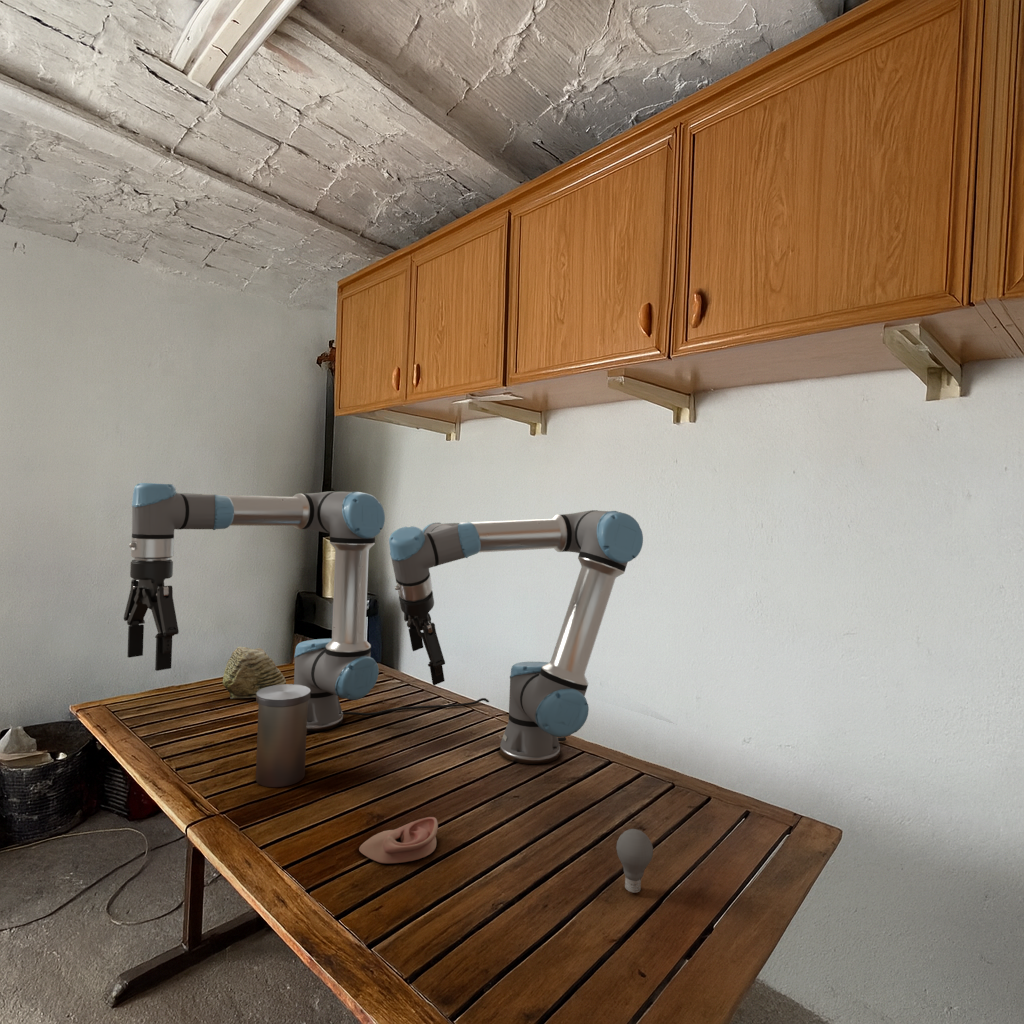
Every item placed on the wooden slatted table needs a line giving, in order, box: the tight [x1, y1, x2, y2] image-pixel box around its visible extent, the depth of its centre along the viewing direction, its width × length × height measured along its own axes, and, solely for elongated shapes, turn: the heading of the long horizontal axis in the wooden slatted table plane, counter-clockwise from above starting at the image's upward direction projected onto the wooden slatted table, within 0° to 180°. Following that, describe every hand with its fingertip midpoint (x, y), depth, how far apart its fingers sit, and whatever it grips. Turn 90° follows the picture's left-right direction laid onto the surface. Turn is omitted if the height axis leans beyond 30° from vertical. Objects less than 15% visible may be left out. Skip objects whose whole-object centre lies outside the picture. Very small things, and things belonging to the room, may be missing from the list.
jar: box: [255, 701, 308, 788], centre depth 142 cm, size 10×10×19 cm
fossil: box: [222, 646, 287, 699], centre depth 198 cm, size 9×18×15 cm, turn 132°
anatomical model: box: [358, 816, 439, 864], centre depth 116 cm, size 13×4×12 cm
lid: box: [255, 683, 310, 707], centre depth 142 cm, size 11×11×2 cm
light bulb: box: [615, 828, 654, 894], centre depth 106 cm, size 6×6×10 cm
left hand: (148, 662), depth 129 cm, fingers open, 13 cm apart
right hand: (427, 665), depth 151 cm, fingers open, 13 cm apart
